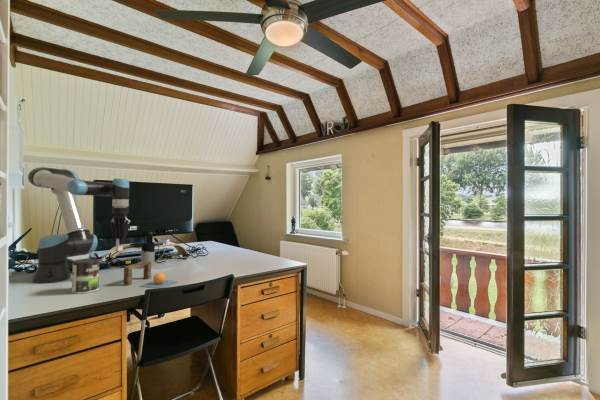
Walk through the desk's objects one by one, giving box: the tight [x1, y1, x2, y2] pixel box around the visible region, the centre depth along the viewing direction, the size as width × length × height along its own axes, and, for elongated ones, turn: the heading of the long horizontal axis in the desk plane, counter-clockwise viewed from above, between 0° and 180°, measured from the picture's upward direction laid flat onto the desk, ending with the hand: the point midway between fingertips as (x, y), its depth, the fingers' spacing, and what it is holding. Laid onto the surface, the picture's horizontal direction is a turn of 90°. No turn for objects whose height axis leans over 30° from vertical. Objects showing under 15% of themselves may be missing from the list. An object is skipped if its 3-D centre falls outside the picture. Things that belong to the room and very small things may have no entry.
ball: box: [152, 272, 166, 284], centre depth 146 cm, size 6×6×6 cm
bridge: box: [123, 261, 152, 286], centre depth 149 cm, size 3×14×9 cm, turn 164°
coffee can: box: [71, 258, 100, 295], centre depth 133 cm, size 10×10×14 cm
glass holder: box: [139, 242, 166, 270], centre depth 184 cm, size 9×14×15 cm, turn 115°
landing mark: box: [139, 279, 179, 289], centre depth 146 cm, size 13×13×1 cm
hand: (119, 250), depth 153 cm, fingers closed
